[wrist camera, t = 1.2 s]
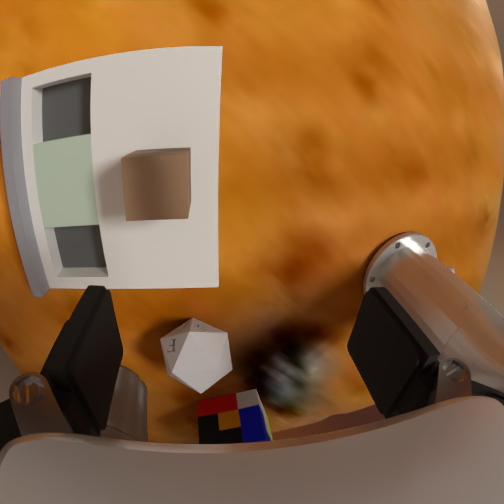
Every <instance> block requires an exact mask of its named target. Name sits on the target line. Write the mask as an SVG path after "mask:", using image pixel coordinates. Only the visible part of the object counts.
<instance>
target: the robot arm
mask: <svg viewBox="0 0 504 504" xmlns="http://www.w3.org/2000/svg"><path fill="white" fill-rule="evenodd" d="M363 293H364V298H363V301H362V304H361V307H360V310H359V313H358V316H357V319H356V322H355V325H354V327H353V330H352V333H351V336H350V338H349V341H348V345H347V348H348V352H349V354H350V356H351V357H352V359H353V361H354V363H355V365H356V367H357V369H358V371H359V373H360V375H361V377H362V379H363V380H364V382H365V384H366V386H367V388H368V390H369V392H370V394H371V396H372V398H373V400H374V402H375V404H376V406H377V408H378V410H379V412H380V413H381V414H384V416H385V418H386V419H384V420H381V421H377V422H374V423H369V424H365V425H362V426H357V427H353V428H348V429H344V430H339V431H334V432H329V433H324V434H318V435H312V436H305V437H299V438H291V439H284V440H275V441H265V442H252V443H236V444H170V443H154V442H141V441H130V440H121V439H113V438H105V437H100V434H101V430H105V429H106V426H107V421H108V416H109V411H110V406H111V402H112V397H113V393H114V389H115V384H116V380H117V376H118V372H119V368H120V364H121V360H122V356H123V346H122V342H121V338H120V334H119V330H118V326H117V321H116V317H115V312H114V307H113V302H112V297H111V293H110V291H109V290H106V288H105V286H99V285H89V286H88V287H87V289H86V290H85V292H84V294H83V295H82V297H81V299H80V301H79V302H78V304H77V306H76V308H75V310H74V311H73V313H72V315H71V317H70V319H69V320H68V321H66V323H65V324H64V326H63V328H62V330H61V332H60V334H59V336H58V337H57V339H56V341H55V343H54V345H53V347H52V349H51V351H50V354H49V356H48V358H47V360H46V362H45V364H44V366H43V368H42V371H41V373H40V374H39V373H36V372H27V373H23V374H21V375H20V376H18V377H17V378H16V379H15V380H14V381H13V382H12V384H11V386H10V389H9V399H7V400H6V401H4V402H1V403H0V504H504V317H503V316H502V315H500V314H499V313H498V312H497V311H496V310H495V309H494V308H493V307H492V306H491V305H490V304H489V303H488V302H486V300H484V299H483V298H482V297H481V296H480V295H479V294H478V293H477V292H476V291H474V290H473V289H472V288H471V287H470V286H469V285H468V284H466V283H465V282H464V281H463V280H462V279H461V278H459V277H458V276H457V275H456V274H455V273H454V268H453V267H446V266H445V265H444V264H442V263H441V262H440V261H439V260H437V253H436V249H435V246H434V245H433V243H432V241H431V240H429V239H428V238H427V237H426V236H424V235H422V234H420V233H417V232H407V233H402V234H400V235H398V236H395V237H394V238H392V239H391V240H389V241H388V242H386V243H385V244H384V245H383V246H382V247H381V248H380V249H379V250H378V251H377V253H376V254H375V255H374V257H373V258H372V260H371V261H370V263H369V265H368V267H367V270H366V272H365V276H364V281H363Z"/></svg>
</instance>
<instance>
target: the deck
mask: <svg viewBox="0 0 504 504" xmlns="http://www.w3.org/2000/svg"><path fill="white" fill-rule="evenodd" d="M222 48H223V46H192V47H171V48H158V49H148V50H139V51H131V52H124V53H117V54H111V55H106V56H100V57H95V58H90V59H86V60H81V61H77V62H73V63H69V64H65V65H61V66H57V67H54V68H50V69H47V70H44V71H41V72H37V73H34V74H31V75H28V76H25V77H23V78H19V77H10V78H7V79H5V80H3V81H1V95H0V131H1V149H2V161H3V170H4V179H5V186H6V192H7V199H8V204H9V210H10V215H11V220H12V224H13V229H14V233H15V237H16V241H17V245H18V249H19V253H20V256H21V260H22V263H23V267H24V270H25V273H26V276H27V279H28V283H29V286H30V288H31V291H32V294H33V297H44V295H45V294H46V293H47V291H48V290H49V288H75V289H87V287H88V286H89V285H99V286H105V288H106V289H149V288H200V287H219V275H218V161H219V118H220V90H221V67H222ZM187 147H191V205H190V210H189V216H188V219H168V220H141V221H126V215H125V206H124V195H123V183H122V169H121V158H122V157H124V156H126V155H128V154H130V153H132V152H134V151H136V150H147V149H163V148H187Z"/></svg>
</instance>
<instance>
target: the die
mask: <svg viewBox="0 0 504 504" xmlns="http://www.w3.org/2000/svg"><path fill="white" fill-rule="evenodd" d="M160 342H161V346H162V351H163V356H164V360H165V365H166V369H167V373H168V375H169V376H170V377H172V378H174V379H176V380H177V381H179V382H181V383H183V384H184V385H186V386H188V387H190V388H192V389H193V390H195V391H197V392H199V393H203V392H204V391H205V390H207V389H208V388H209V387H211V386H212V385H213V384H215V383H216V382H217V381H219V380H220V379H221V378H222V377H224V376H225V375H226V374H228V373H229V372H230V371H231V370H232V363H231V355H230V348H229V340H228V333H227V332H224V331H222V330H220V329H217V328H215V327H213V326H211V325H208V324H206V323H204V322H202V321H200V320H197V319H195V318H191V319H190V320H188V321H187V322H185V323H183V324H182V325H181V326H179V327H177V328H176V329H174V330H173V331H171V332H170V333H168V334H167V335H165V336H164V337H162V338H160Z"/></svg>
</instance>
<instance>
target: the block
mask: <svg viewBox="0 0 504 504" xmlns="http://www.w3.org/2000/svg"><path fill="white" fill-rule="evenodd" d="M121 169H122V183H123V195H124V206H125V215H126V221H141V220H168V219H188V216H189V210H190V205H191V147H187V148H163V149H147V150H136V151H134V152H132V153H130V154H128V155H126V156H124V157H122V158H121Z"/></svg>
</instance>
